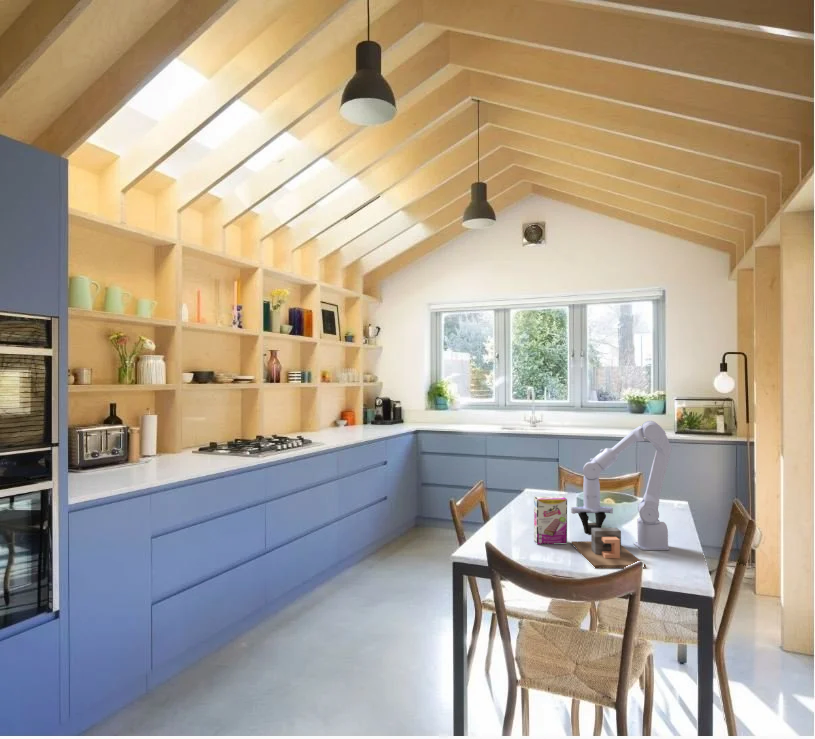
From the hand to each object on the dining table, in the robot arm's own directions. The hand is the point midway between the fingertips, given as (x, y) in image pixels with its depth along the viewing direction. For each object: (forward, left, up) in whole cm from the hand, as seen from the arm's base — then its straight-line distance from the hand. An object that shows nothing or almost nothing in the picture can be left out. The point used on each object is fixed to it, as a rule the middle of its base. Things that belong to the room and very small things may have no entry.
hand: (592, 533), depth 208 cm
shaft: (0, +7, 0) cm, 7 cm away
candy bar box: (+15, 0, -4) cm, 15 cm away
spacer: (+2, +19, +1) cm, 19 cm away
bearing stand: (0, +15, -3) cm, 15 cm away
